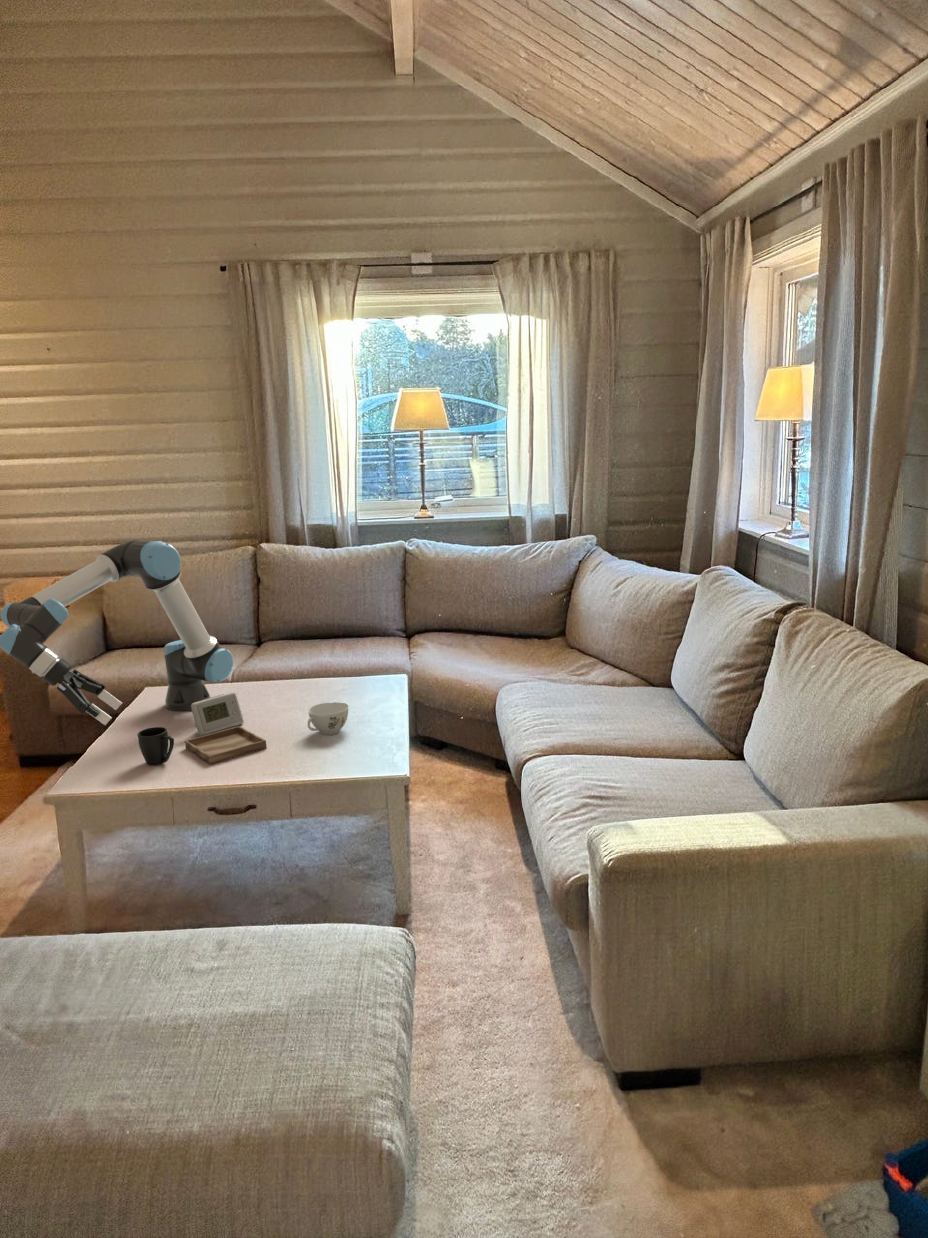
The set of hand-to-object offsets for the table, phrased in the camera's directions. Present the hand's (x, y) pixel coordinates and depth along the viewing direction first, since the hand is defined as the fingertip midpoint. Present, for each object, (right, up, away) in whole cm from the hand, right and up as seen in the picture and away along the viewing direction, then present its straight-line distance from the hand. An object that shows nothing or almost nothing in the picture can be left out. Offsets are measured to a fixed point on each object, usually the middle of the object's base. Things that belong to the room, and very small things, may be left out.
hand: (114, 714), depth 255 cm
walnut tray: (+28, -12, +15) cm, 34 cm away
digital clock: (+21, -9, +32) cm, 39 cm away
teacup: (+58, -9, +24) cm, 63 cm away
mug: (+12, -15, +6) cm, 20 cm away
